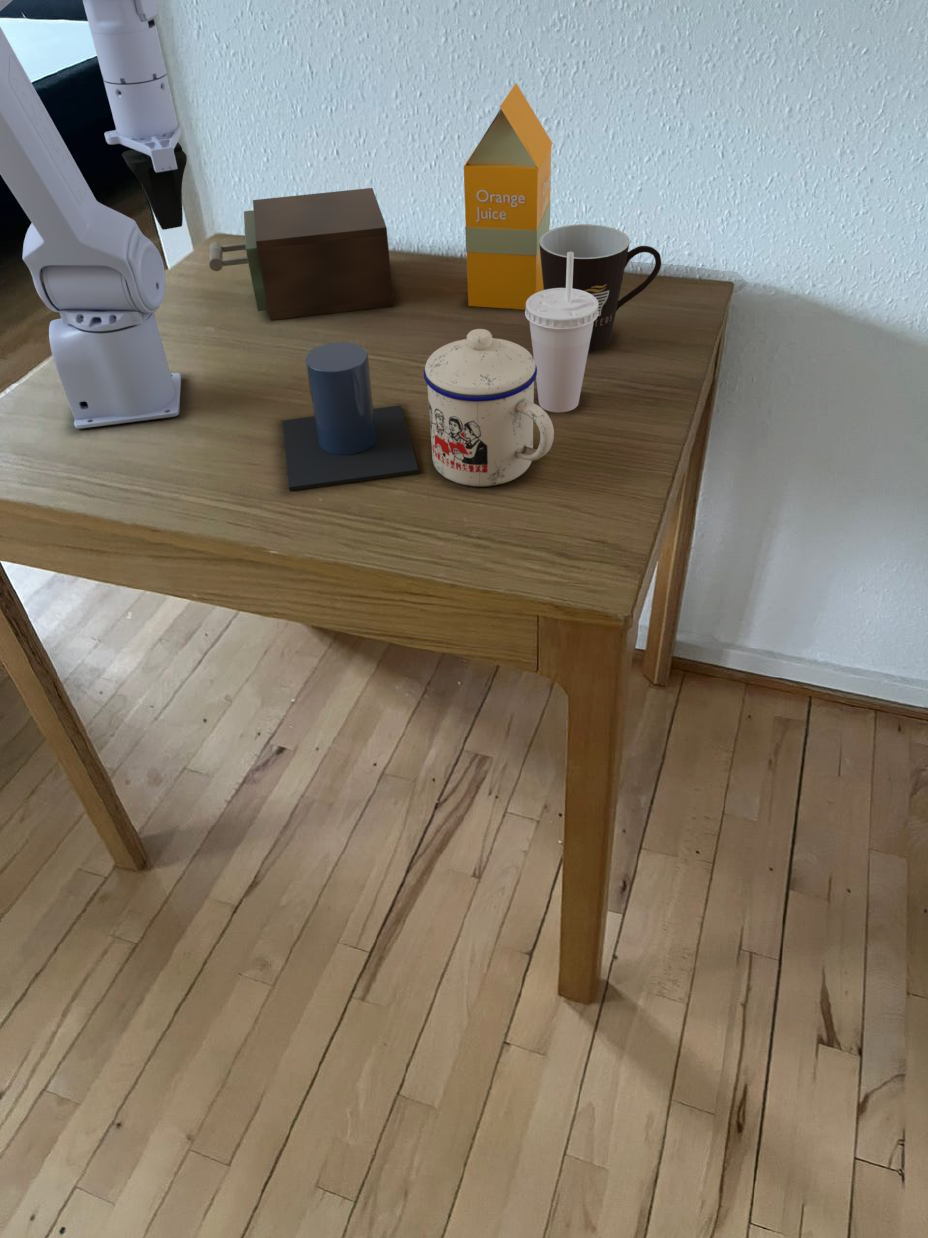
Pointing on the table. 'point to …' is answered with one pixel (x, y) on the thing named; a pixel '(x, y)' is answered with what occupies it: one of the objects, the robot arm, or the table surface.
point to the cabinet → (323, 253)
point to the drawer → (243, 259)
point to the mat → (324, 468)
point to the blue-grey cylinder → (342, 397)
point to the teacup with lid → (484, 410)
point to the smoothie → (561, 341)
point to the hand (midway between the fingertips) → (171, 225)
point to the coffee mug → (593, 269)
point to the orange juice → (507, 207)
